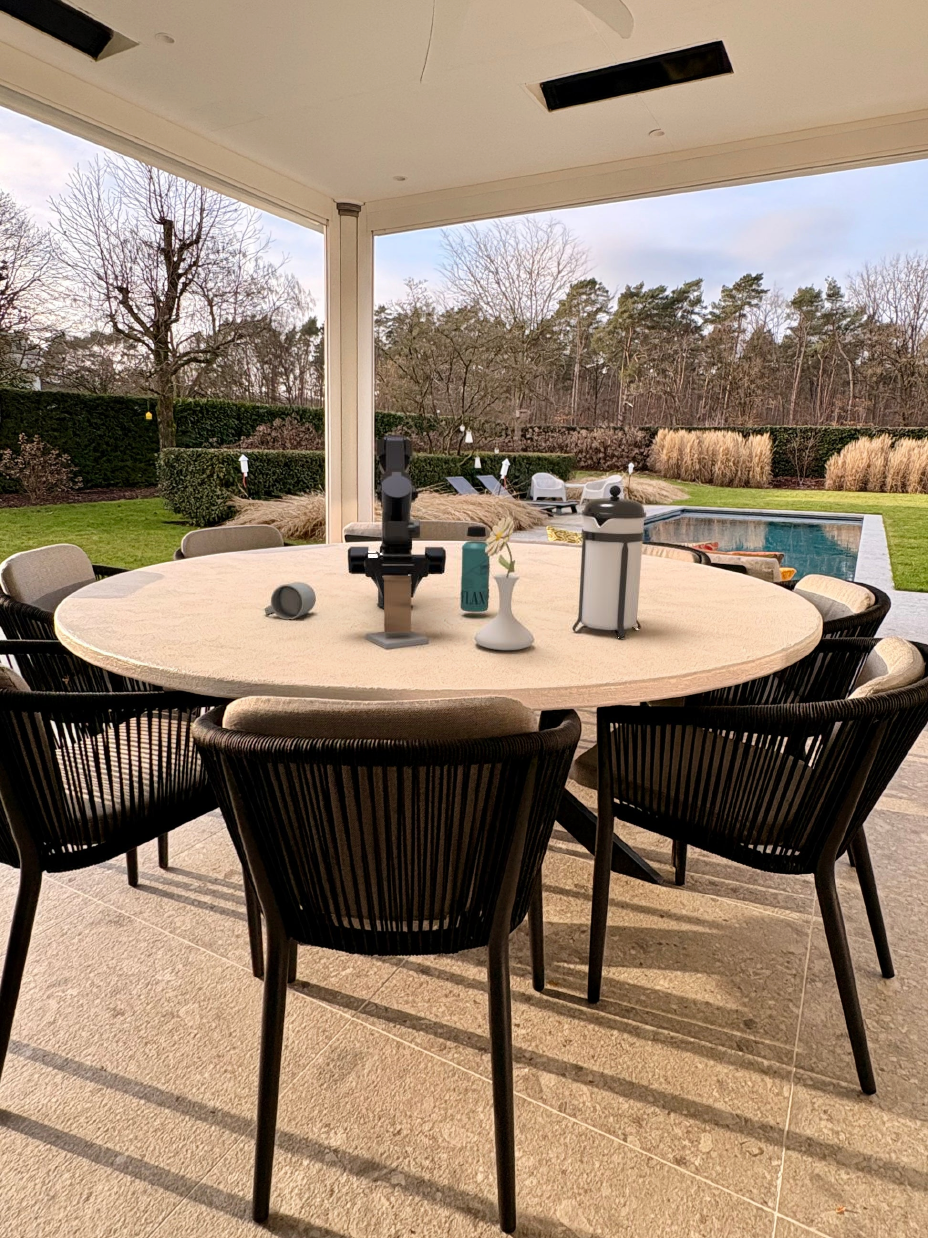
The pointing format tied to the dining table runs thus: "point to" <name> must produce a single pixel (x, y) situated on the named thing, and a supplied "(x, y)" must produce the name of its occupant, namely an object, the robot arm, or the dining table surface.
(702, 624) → the dining table surface
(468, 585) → the beverage bottle
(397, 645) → the upper grey slab
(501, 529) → the flower in vase
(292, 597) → the ceramic mug
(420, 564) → the robot arm
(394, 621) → the walnut post
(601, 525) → the coffee press
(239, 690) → the dining table surface
